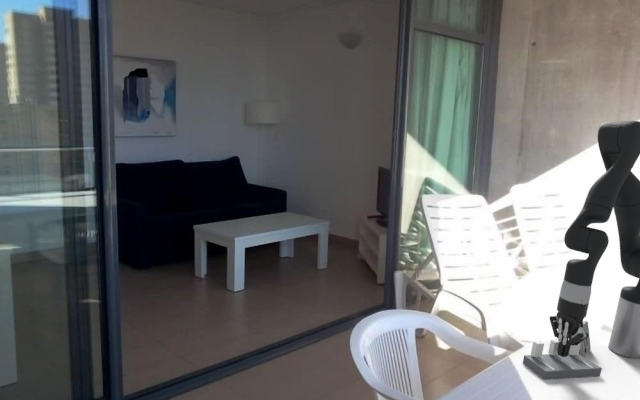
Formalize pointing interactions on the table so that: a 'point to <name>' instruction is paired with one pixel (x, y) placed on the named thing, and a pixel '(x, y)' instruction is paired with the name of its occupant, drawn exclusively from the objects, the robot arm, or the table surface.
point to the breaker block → (561, 366)
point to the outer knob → (537, 349)
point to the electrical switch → (585, 341)
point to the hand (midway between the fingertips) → (562, 355)
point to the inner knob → (574, 349)
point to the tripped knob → (553, 347)
